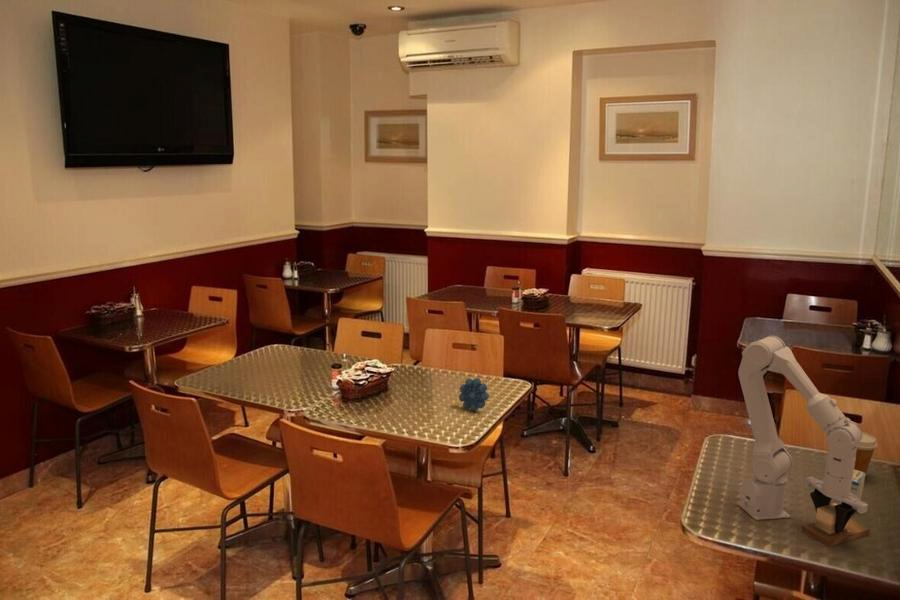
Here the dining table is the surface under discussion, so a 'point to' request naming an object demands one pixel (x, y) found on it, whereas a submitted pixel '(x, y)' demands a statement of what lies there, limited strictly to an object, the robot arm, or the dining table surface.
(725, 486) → the dining table surface
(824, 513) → the sanding block
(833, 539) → the walnut board
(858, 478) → the medicine box
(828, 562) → the dining table surface
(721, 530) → the dining table surface
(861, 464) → the disposable coffee cup
